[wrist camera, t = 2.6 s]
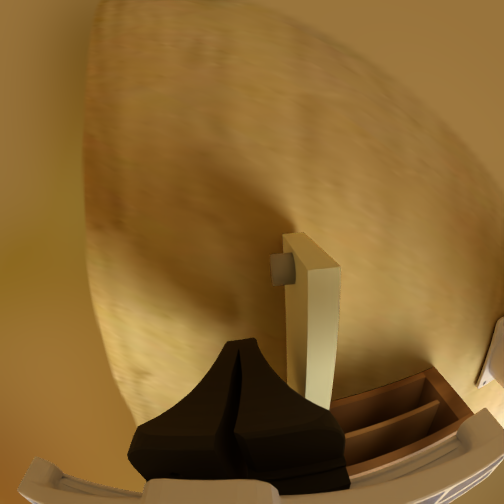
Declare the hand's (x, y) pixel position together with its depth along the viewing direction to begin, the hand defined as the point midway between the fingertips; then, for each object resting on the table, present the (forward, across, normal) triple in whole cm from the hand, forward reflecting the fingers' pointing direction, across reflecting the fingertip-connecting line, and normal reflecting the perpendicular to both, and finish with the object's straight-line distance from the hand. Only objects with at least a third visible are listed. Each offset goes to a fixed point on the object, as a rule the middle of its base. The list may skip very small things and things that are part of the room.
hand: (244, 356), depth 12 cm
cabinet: (+2, -8, +12) cm, 15 cm away
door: (+2, -2, +1) cm, 3 cm away
